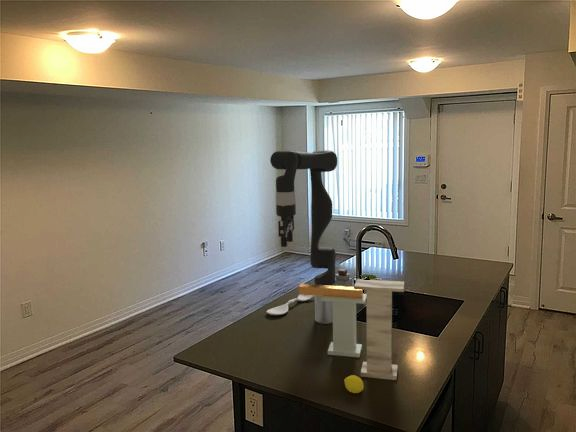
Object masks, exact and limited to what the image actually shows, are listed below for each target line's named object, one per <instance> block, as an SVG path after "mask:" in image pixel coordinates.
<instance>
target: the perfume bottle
mask: <svg viewBox="0 0 576 432" xmlns="http://www.w3.org/2000/svg"><path fill="white" fill-rule="evenodd" d="M350 275H351V273H348V269H346V268H339V269H338V270H337V273H335V286H345V287H353V278H352V277H351V276H350Z"/></svg>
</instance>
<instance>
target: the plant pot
mask: <svg viewBox="0 0 576 432" xmlns="http://www.w3.org/2000/svg"><path fill="white" fill-rule="evenodd" d="M361 275H362V278H363V279H364V278H365V277H369V279H370V280H378V276H377V275H375V274H369V273H368V274H367V273H366V274H361ZM364 292H365V294H367V293H366V290H364Z"/></svg>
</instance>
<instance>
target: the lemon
mask: <svg viewBox="0 0 576 432" xmlns="http://www.w3.org/2000/svg"><path fill="white" fill-rule="evenodd" d="M343 381H344V386H345V389H346V390H347V392H350V393H352V394H359V393H360V392H362V391H363V390H364V381H363V380H362V378H360V377H359V376H357V375H355V374H353V375H349V376H347V377H345V378H344V380H343Z"/></svg>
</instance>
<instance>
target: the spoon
mask: <svg viewBox="0 0 576 432" xmlns="http://www.w3.org/2000/svg"><path fill="white" fill-rule="evenodd" d="M312 298H315V296H314V295H299V294H298V296H297V298H292V299H289V300H288V302H286V303H285V304H281V305H278V306H275V307H272V308H269V309H267V310H266V313H267V314H269V315H270V316H281V315H284V314H286V313H287V312H288V311H289V305H290V304H293V303H295V301H298V302H305V301H309V300H310V299H312Z"/></svg>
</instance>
